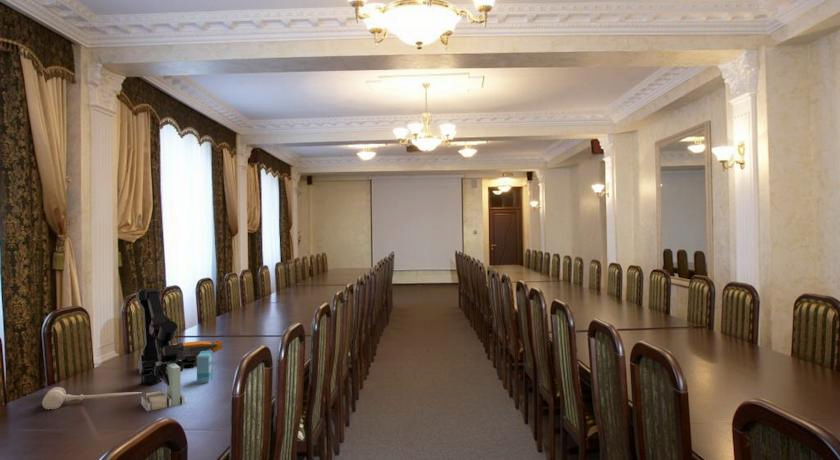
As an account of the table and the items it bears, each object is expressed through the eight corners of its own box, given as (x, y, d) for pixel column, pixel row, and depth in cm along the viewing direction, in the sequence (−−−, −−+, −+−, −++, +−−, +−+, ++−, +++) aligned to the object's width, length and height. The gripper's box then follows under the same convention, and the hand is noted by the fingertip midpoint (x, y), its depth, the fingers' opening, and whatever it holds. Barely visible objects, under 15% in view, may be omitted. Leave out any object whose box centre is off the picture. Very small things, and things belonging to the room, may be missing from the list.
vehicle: (225, 363, 248) (225, 342, 249) (145, 374, 229) (145, 351, 229) (218, 357, 260) (218, 337, 260) (141, 367, 241) (141, 345, 241)
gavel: (144, 398, 204) (46, 403, 189) (146, 382, 204) (47, 386, 190) (144, 406, 194) (40, 412, 180) (145, 389, 195) (42, 394, 180)
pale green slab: (166, 399, 190) (167, 364, 190) (173, 398, 191) (174, 363, 192) (172, 405, 184) (172, 368, 184) (179, 403, 185) (180, 367, 185)
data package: (208, 385, 212) (208, 355, 212) (196, 386, 210) (196, 356, 211) (212, 377, 223) (212, 349, 223) (201, 378, 222) (201, 350, 222)
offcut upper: (146, 398, 186) (146, 393, 186) (161, 395, 189) (161, 390, 189) (151, 404, 179) (151, 398, 179) (166, 401, 182) (166, 396, 182)
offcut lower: (146, 403, 185) (146, 398, 186) (161, 400, 189) (161, 395, 189) (151, 409, 179) (151, 404, 179) (166, 406, 182) (166, 401, 182)
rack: (140, 406, 185) (140, 396, 185) (179, 399, 193) (179, 389, 194) (147, 413, 178) (147, 403, 178) (187, 406, 186) (187, 396, 186)
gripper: (141, 339, 186) (148, 376, 178) (195, 333, 198) (204, 367, 189) (136, 357, 192) (142, 394, 184) (189, 350, 204) (198, 384, 196)
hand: (172, 384), depth 188 cm, fingers closed on pale green slab, 2 cm apart
